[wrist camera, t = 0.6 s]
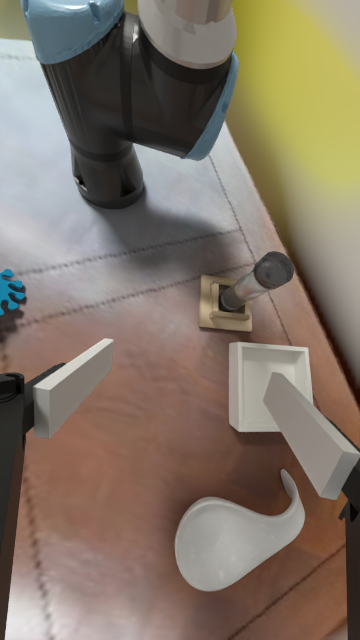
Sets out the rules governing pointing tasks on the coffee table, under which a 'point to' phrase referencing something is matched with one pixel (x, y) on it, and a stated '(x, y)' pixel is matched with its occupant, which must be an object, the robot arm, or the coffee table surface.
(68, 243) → the coffee table surface
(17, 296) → the gear
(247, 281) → the capped clear cylinder
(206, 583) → the spoon rest
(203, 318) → the socket block
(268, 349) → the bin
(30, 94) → the coffee table surface
